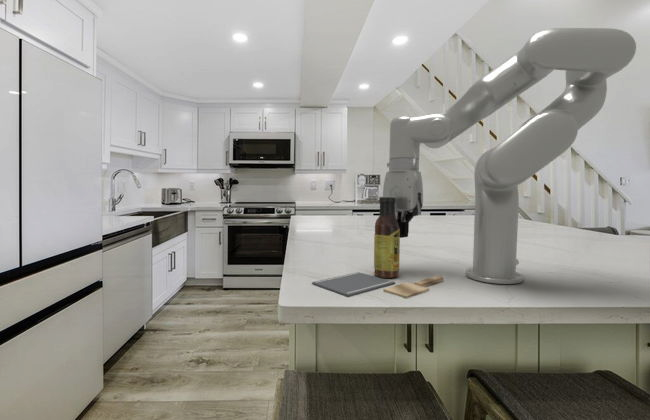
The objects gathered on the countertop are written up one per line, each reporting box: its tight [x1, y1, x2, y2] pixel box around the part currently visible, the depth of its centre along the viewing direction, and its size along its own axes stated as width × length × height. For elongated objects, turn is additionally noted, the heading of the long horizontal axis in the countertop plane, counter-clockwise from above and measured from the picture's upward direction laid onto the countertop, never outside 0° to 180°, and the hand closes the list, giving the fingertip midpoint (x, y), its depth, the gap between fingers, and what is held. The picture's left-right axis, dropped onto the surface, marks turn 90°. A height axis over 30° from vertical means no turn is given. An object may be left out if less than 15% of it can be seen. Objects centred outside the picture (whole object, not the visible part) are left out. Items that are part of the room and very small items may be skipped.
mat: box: [311, 271, 396, 298], centre depth 80 cm, size 15×12×1 cm
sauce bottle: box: [373, 196, 401, 279], centre depth 86 cm, size 6×6×20 cm
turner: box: [383, 274, 444, 299], centre depth 77 cm, size 17×6×1 cm, turn 130°
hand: (401, 236), depth 90 cm, fingers closed
